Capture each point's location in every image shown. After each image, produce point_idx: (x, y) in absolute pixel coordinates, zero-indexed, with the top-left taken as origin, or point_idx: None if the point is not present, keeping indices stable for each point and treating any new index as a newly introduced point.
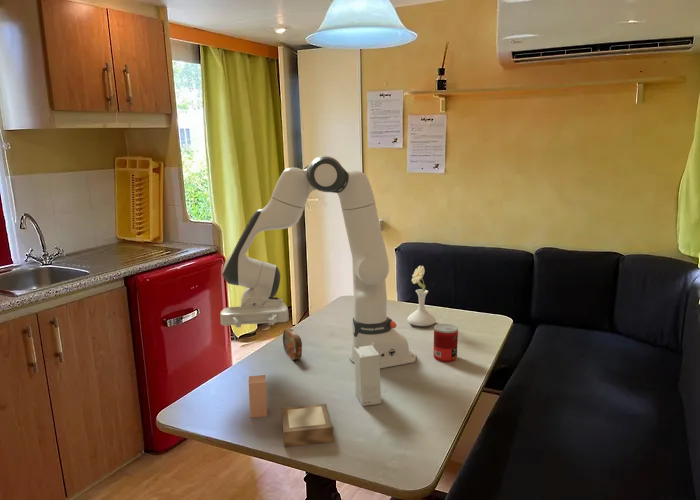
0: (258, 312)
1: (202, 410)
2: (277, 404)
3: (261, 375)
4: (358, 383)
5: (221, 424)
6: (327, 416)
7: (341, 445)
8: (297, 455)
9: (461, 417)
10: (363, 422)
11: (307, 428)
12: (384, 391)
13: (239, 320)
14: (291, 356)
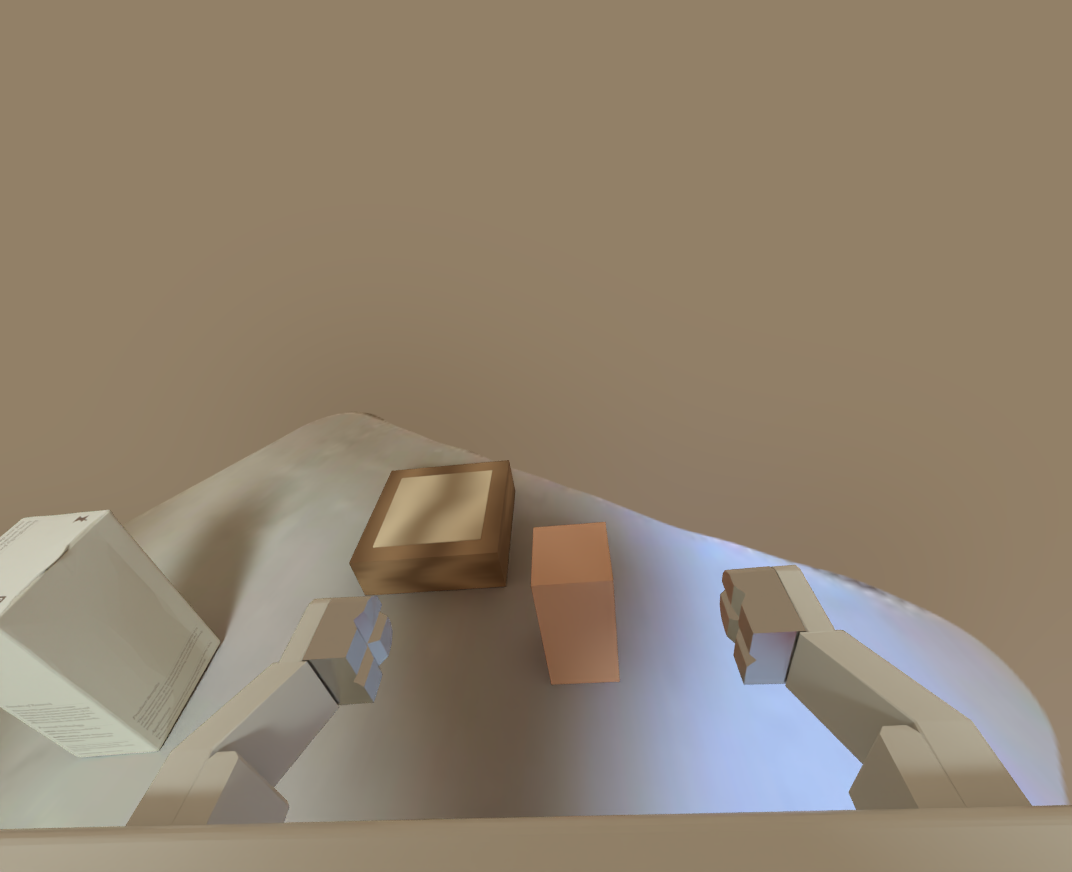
0: (440, 833)
1: None
2: (505, 708)
3: (550, 582)
4: (161, 634)
5: (710, 592)
6: (381, 505)
7: None
8: None
9: None
10: (286, 562)
11: (450, 468)
12: (43, 752)
13: (761, 608)
14: None
